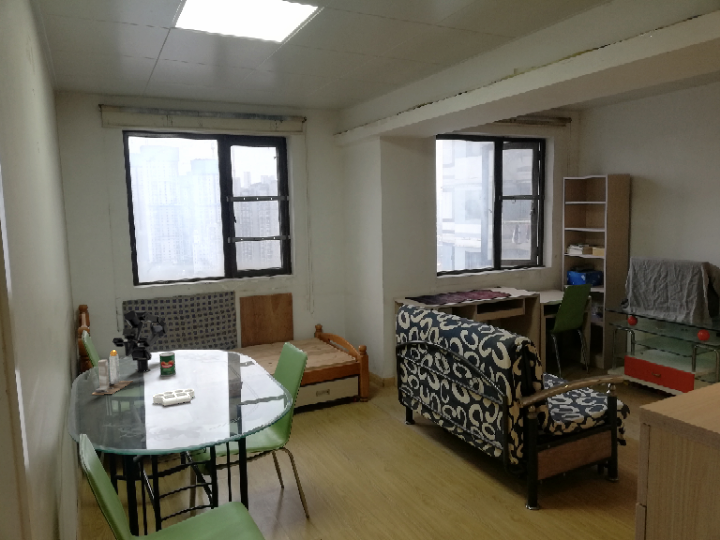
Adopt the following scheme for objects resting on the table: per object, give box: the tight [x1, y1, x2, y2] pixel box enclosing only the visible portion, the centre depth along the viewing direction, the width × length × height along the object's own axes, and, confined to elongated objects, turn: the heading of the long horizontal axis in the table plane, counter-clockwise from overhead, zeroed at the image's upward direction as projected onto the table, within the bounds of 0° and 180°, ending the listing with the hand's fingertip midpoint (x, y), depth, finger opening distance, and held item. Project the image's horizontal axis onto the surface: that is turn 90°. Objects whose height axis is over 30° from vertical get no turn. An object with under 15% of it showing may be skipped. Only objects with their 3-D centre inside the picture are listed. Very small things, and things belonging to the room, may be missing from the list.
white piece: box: [152, 388, 195, 407], centre depth 240 cm, size 3×18×15 cm
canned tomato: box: [158, 351, 177, 377], centre depth 284 cm, size 8×8×11 cm
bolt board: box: [91, 359, 134, 396], centre depth 260 cm, size 20×10×16 cm, turn 177°
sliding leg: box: [108, 349, 121, 385], centre depth 262 cm, size 4×6×17 cm
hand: (126, 355), depth 274 cm, fingers closed
